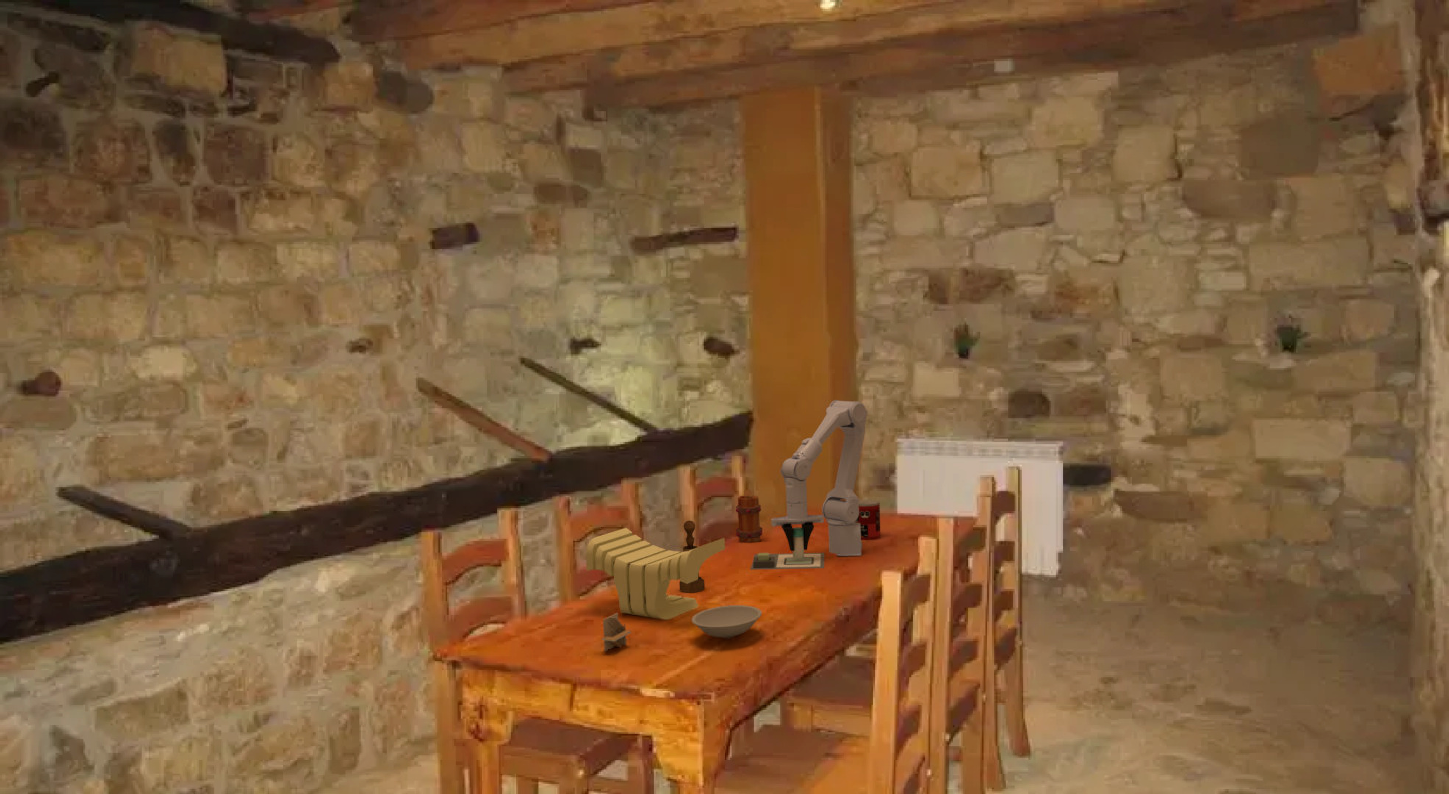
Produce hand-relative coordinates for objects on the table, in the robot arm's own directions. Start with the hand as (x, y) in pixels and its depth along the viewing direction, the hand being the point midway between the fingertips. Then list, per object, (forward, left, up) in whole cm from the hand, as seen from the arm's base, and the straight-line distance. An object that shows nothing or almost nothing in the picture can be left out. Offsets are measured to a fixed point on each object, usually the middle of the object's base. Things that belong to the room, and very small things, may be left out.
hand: (798, 549), depth 319 cm
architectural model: (+38, +73, -5) cm, 83 cm away
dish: (+14, +67, -4) cm, 69 cm away
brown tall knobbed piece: (+27, +25, -4) cm, 37 cm away
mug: (+16, -32, -4) cm, 36 cm away
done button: (+10, +4, -2) cm, 11 cm away
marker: (0, 0, -2) cm, 2 cm away
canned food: (-20, -33, -4) cm, 39 cm away
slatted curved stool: (+33, +45, -4) cm, 56 cm away
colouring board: (+3, -1, -4) cm, 5 cm away
